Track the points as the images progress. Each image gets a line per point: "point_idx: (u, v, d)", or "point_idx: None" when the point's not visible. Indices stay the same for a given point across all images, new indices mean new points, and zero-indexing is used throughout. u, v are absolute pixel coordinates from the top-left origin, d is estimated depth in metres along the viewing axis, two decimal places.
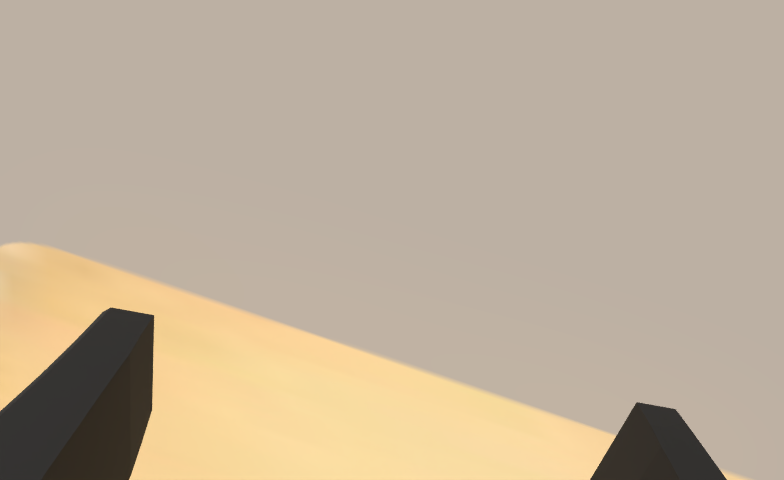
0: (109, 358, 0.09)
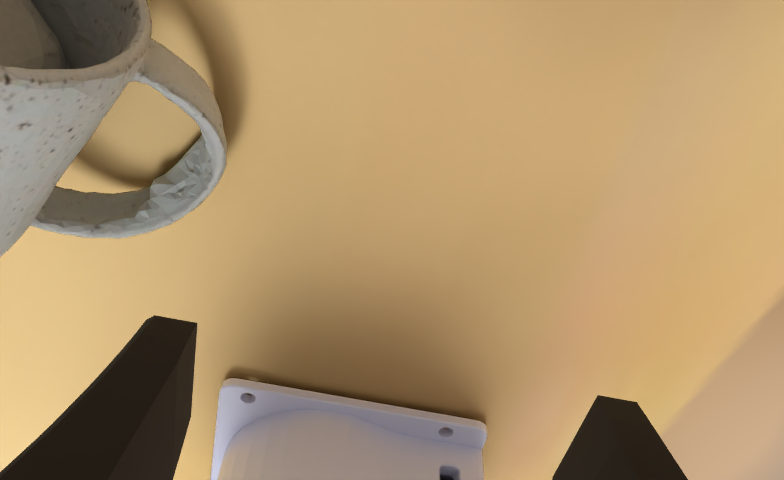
0: (158, 367, 0.09)
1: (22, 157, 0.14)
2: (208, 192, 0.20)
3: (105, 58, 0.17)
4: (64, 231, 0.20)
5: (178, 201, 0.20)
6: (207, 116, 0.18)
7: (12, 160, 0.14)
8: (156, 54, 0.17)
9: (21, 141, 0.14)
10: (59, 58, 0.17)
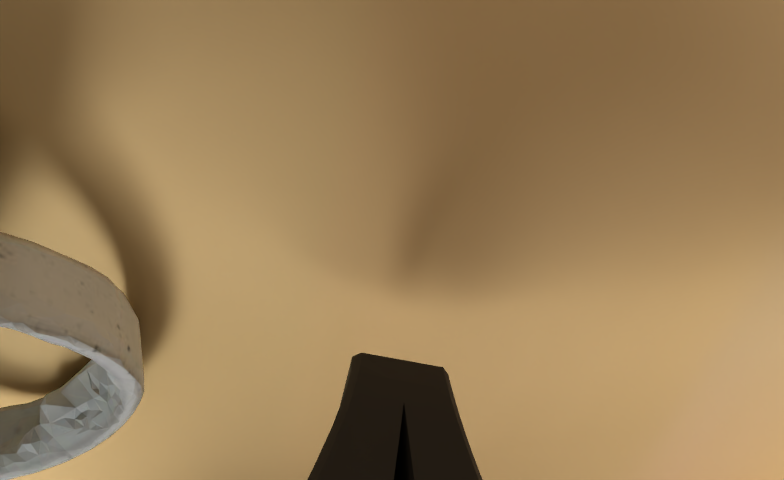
0: (387, 407, 0.09)
1: None
2: (120, 424, 0.14)
3: None
4: None
5: (78, 432, 0.14)
6: (103, 348, 0.12)
7: None
8: (14, 266, 0.11)
9: None
10: None
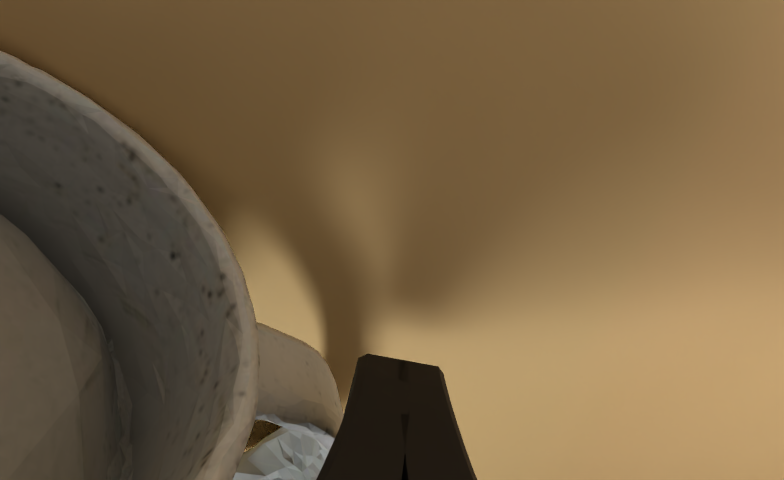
0: (394, 407, 0.10)
1: None
2: None
3: (175, 360, 0.11)
4: None
5: None
6: (331, 429, 0.11)
7: None
8: None
9: None
10: (102, 372, 0.10)
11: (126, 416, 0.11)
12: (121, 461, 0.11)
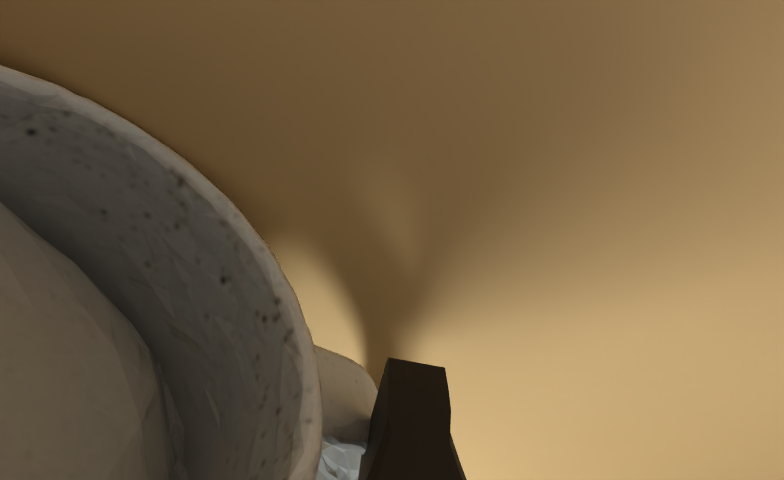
0: (434, 415, 0.10)
1: None
2: None
3: (229, 385, 0.11)
4: None
5: None
6: None
7: None
8: None
9: None
10: (158, 400, 0.10)
11: (179, 438, 0.11)
12: None
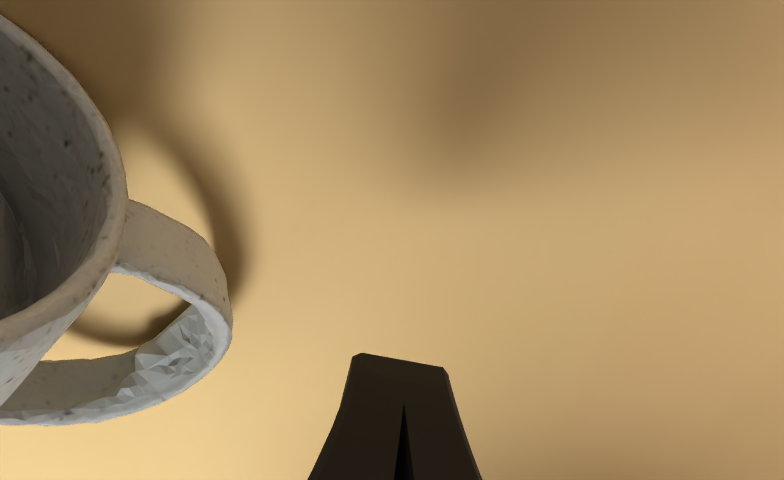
0: (387, 406, 0.09)
1: None
2: (209, 369, 0.16)
3: (67, 231, 0.13)
4: (24, 424, 0.15)
5: (171, 377, 0.16)
6: (206, 296, 0.13)
7: None
8: (137, 224, 0.13)
9: None
10: (4, 237, 0.12)
11: (31, 283, 0.13)
12: None
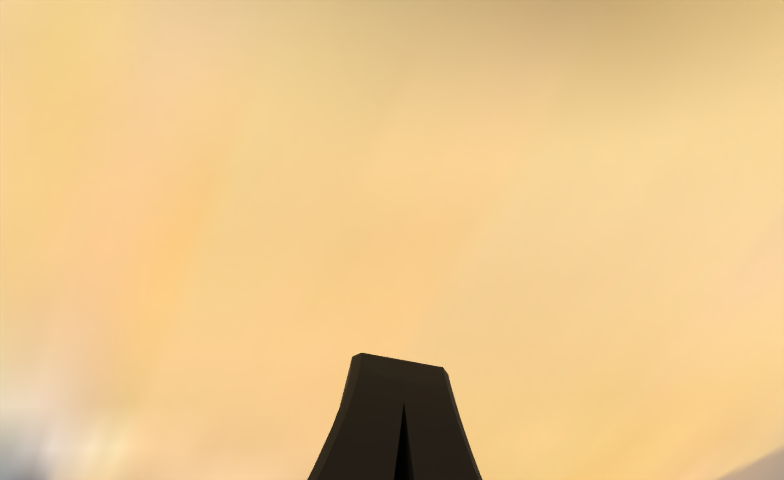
0: (387, 407, 0.09)
1: None
2: None
3: None
4: None
5: None
6: None
7: None
8: None
9: None
10: None
11: None
12: None
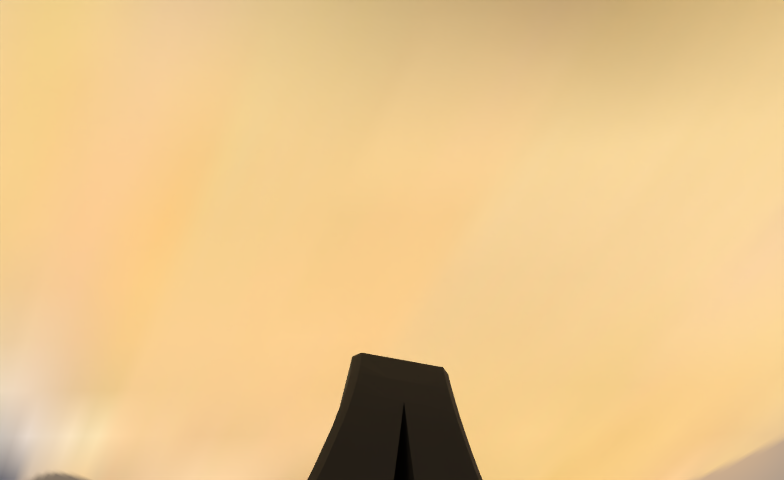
0: (386, 406, 0.09)
1: None
2: None
3: None
4: None
5: None
6: None
7: None
8: None
9: None
10: None
11: None
12: None
